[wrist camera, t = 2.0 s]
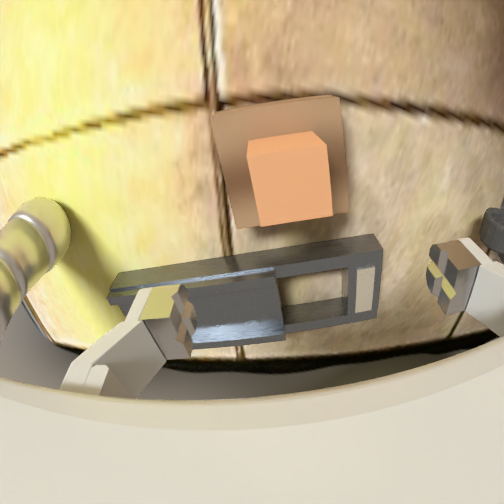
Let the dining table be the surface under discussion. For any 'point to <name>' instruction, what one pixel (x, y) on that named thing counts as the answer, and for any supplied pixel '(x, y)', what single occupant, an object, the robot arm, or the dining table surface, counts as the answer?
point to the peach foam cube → (290, 178)
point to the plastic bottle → (29, 251)
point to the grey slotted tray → (265, 290)
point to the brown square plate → (275, 124)
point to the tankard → (494, 230)
